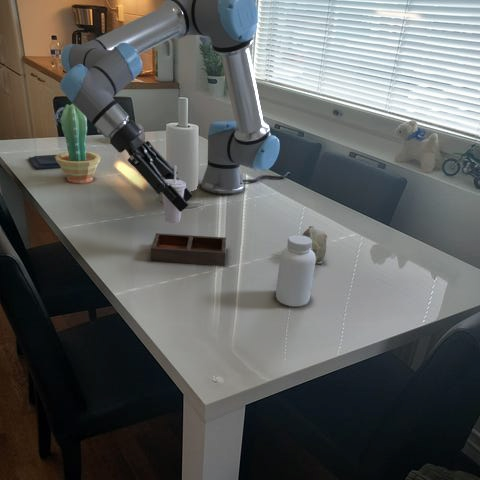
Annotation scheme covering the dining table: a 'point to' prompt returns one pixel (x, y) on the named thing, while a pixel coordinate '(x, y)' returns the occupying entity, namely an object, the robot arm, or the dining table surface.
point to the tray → (188, 249)
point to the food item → (142, 135)
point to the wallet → (44, 162)
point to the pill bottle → (296, 271)
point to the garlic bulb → (317, 242)
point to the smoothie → (170, 210)
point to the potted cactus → (75, 146)
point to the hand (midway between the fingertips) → (186, 203)
